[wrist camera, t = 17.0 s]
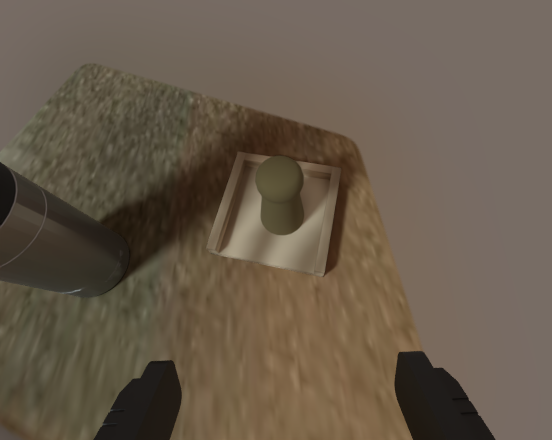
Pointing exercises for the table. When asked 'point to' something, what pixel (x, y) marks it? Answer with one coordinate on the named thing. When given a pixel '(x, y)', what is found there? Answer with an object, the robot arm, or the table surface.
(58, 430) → the table surface
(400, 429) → the table surface
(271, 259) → the beige square tray
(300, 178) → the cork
